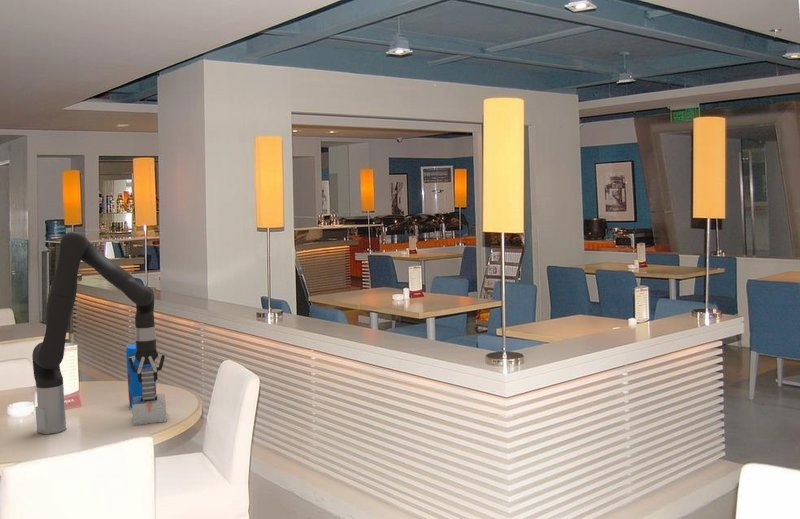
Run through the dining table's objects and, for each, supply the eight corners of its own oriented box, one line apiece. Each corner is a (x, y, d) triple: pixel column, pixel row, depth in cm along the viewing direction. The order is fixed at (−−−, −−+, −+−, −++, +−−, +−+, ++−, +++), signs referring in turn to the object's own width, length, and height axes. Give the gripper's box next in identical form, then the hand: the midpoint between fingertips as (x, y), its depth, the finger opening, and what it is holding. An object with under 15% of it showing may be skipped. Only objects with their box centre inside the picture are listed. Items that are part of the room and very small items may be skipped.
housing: (166, 422, 300) (165, 401, 300) (133, 425, 297) (132, 405, 296) (165, 413, 312) (164, 393, 312) (134, 416, 309) (132, 396, 308)
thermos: (161, 402, 329) (157, 343, 327) (150, 409, 319) (147, 348, 316) (136, 401, 330) (132, 343, 328) (124, 409, 320) (121, 348, 317)
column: (155, 410, 303) (153, 369, 302) (143, 411, 302) (141, 370, 300) (155, 406, 307) (153, 366, 306) (143, 408, 306) (141, 367, 304)
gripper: (164, 335, 308) (166, 378, 309) (126, 338, 303) (128, 381, 305) (165, 338, 300) (167, 382, 302) (125, 341, 296) (128, 386, 298)
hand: (147, 381), depth 303 cm, fingers closed on column, 4 cm apart
